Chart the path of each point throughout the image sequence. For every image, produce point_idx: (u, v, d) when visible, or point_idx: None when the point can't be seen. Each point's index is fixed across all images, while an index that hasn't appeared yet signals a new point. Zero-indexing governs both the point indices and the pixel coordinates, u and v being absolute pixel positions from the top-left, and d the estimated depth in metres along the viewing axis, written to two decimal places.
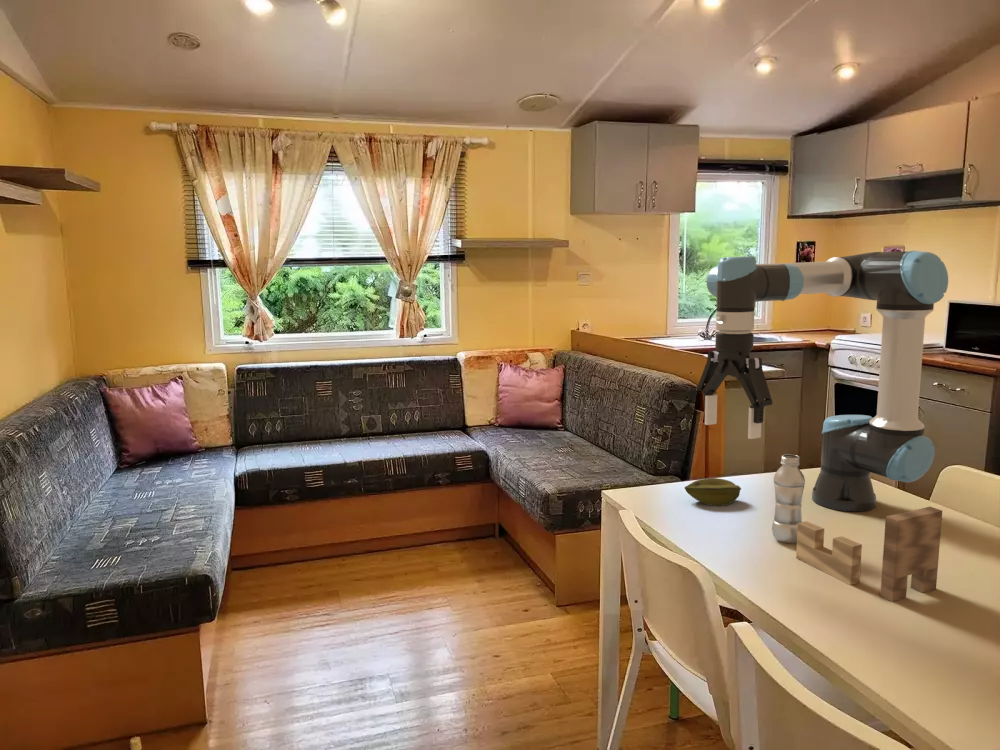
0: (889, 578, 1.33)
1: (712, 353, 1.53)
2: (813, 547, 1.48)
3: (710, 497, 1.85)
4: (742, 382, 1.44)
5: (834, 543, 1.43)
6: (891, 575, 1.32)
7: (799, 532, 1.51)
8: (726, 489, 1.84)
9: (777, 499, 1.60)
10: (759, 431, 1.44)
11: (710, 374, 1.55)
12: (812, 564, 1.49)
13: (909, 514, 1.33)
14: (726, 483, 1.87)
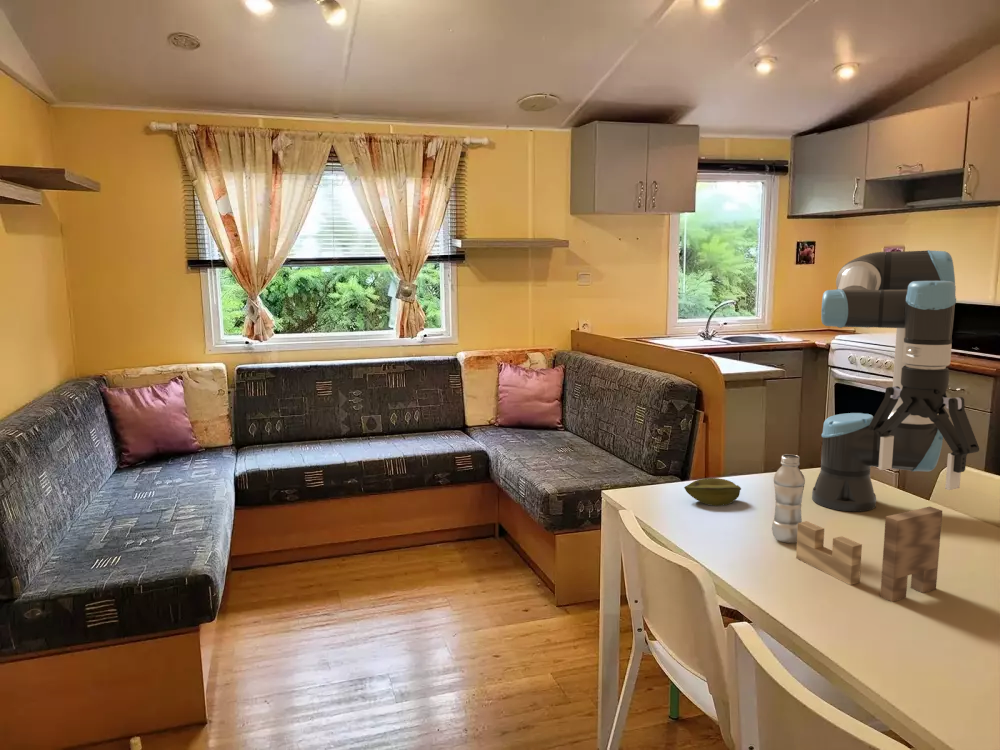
0: (889, 578, 1.33)
1: (892, 389, 1.35)
2: (813, 547, 1.48)
3: (710, 497, 1.85)
4: (938, 424, 1.26)
5: (834, 543, 1.43)
6: (891, 575, 1.32)
7: (799, 532, 1.51)
8: (726, 489, 1.84)
9: (777, 499, 1.60)
10: (958, 481, 1.26)
11: (886, 412, 1.37)
12: (812, 564, 1.49)
13: (909, 514, 1.33)
14: (726, 483, 1.87)
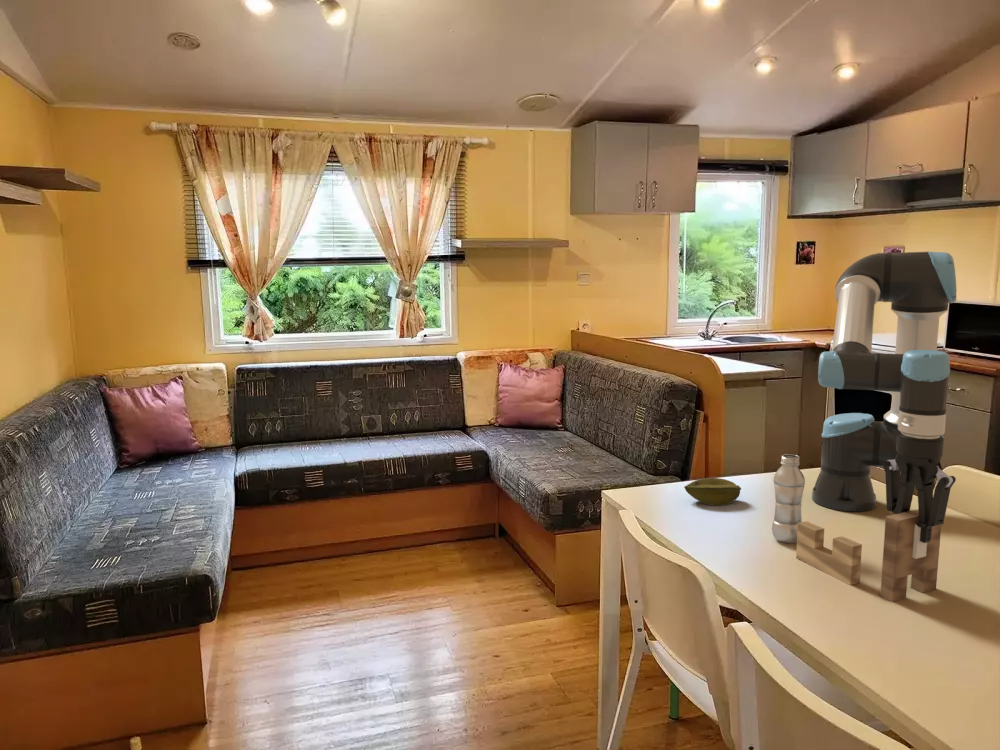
0: (889, 578, 1.33)
1: (887, 461, 1.37)
2: (813, 547, 1.48)
3: (710, 497, 1.85)
4: (920, 494, 1.31)
5: (834, 543, 1.43)
6: (891, 575, 1.32)
7: (799, 532, 1.51)
8: (726, 489, 1.84)
9: (777, 499, 1.60)
10: (924, 550, 1.33)
11: (895, 487, 1.37)
12: (812, 564, 1.49)
13: (909, 514, 1.33)
14: (726, 483, 1.87)
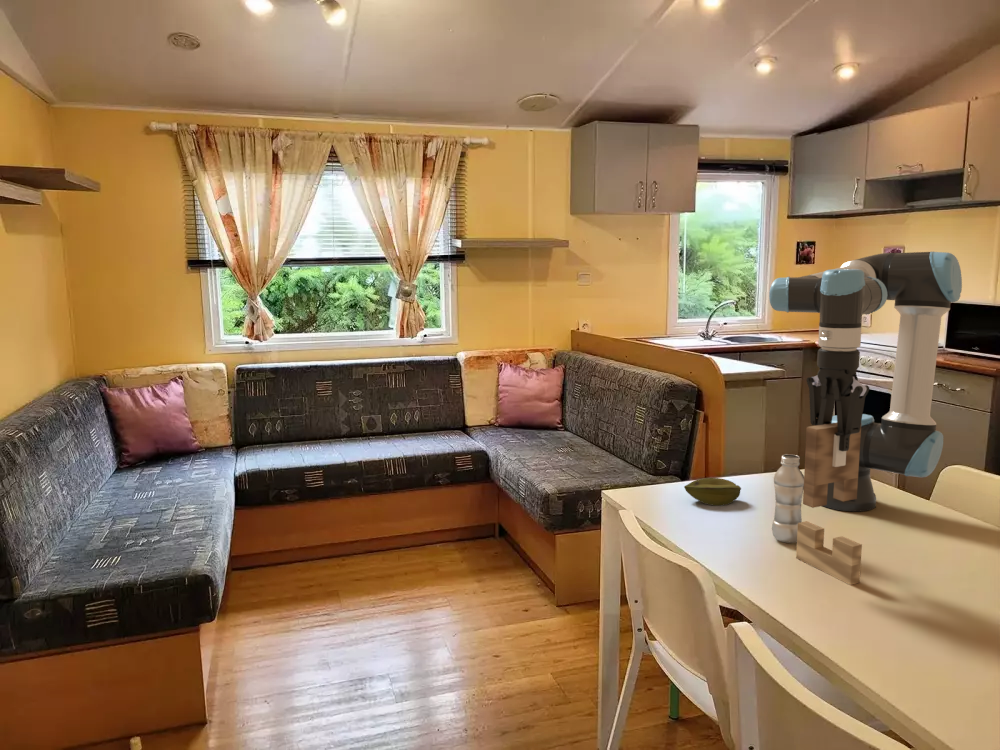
0: (810, 485, 1.41)
1: (811, 378, 1.45)
2: (813, 547, 1.48)
3: (710, 497, 1.86)
4: (838, 405, 1.39)
5: (834, 543, 1.43)
6: (812, 482, 1.40)
7: (799, 532, 1.51)
8: (725, 489, 1.84)
9: (777, 499, 1.60)
10: (844, 459, 1.41)
11: (818, 402, 1.45)
12: (812, 564, 1.49)
13: (829, 425, 1.41)
14: (726, 483, 1.87)
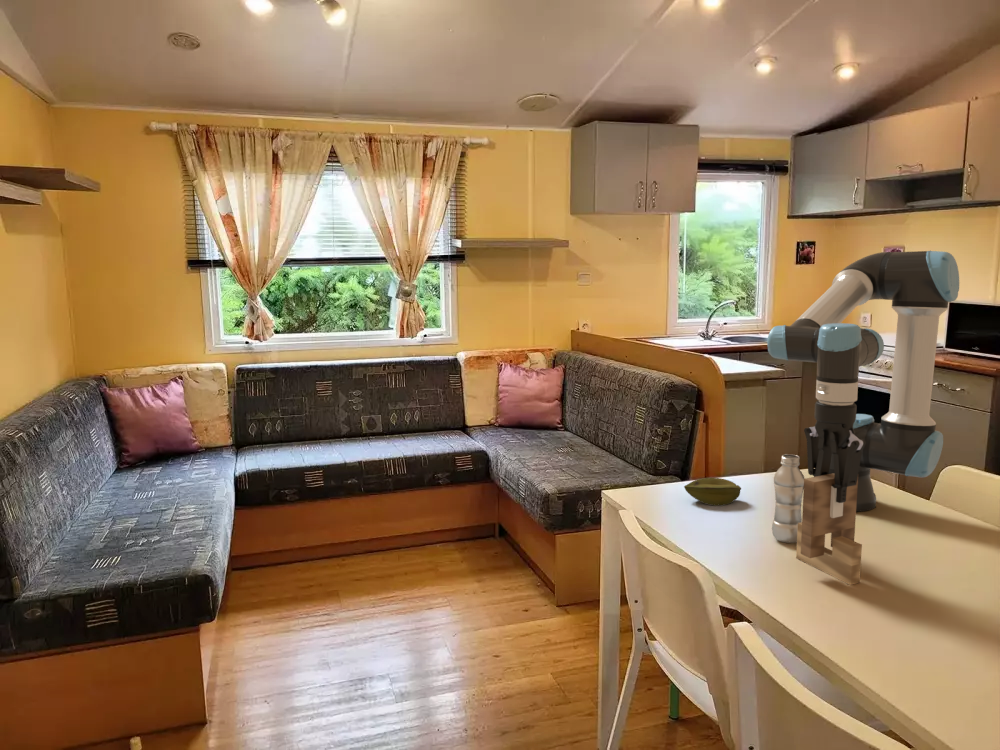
0: (807, 536, 1.43)
1: (808, 428, 1.47)
2: None
3: (710, 497, 1.86)
4: (835, 457, 1.41)
5: (834, 543, 1.43)
6: (809, 533, 1.42)
7: (799, 532, 1.51)
8: (725, 489, 1.84)
9: (777, 499, 1.60)
10: (841, 510, 1.43)
11: (816, 452, 1.47)
12: (812, 564, 1.49)
13: (827, 476, 1.43)
14: (726, 483, 1.87)
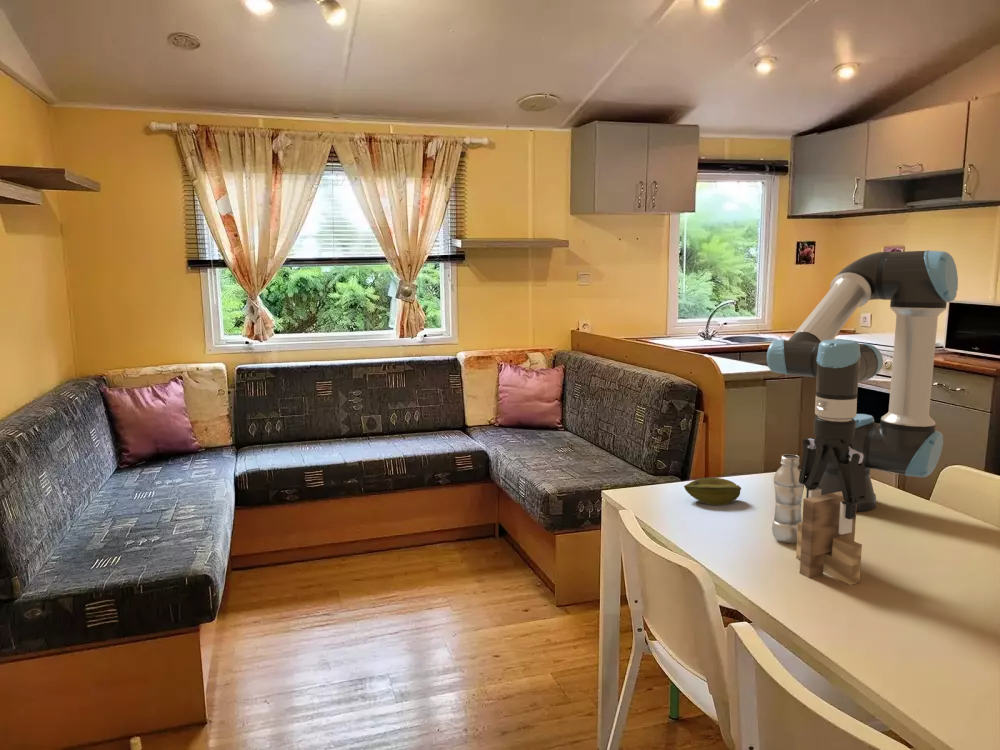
0: (806, 556, 1.43)
1: (807, 440, 1.47)
2: None
3: (709, 497, 1.86)
4: (839, 473, 1.40)
5: (834, 543, 1.43)
6: (808, 553, 1.43)
7: (799, 532, 1.51)
8: (725, 489, 1.84)
9: (777, 499, 1.60)
10: (850, 526, 1.41)
11: (810, 464, 1.48)
12: None
13: (826, 496, 1.44)
14: (726, 483, 1.87)
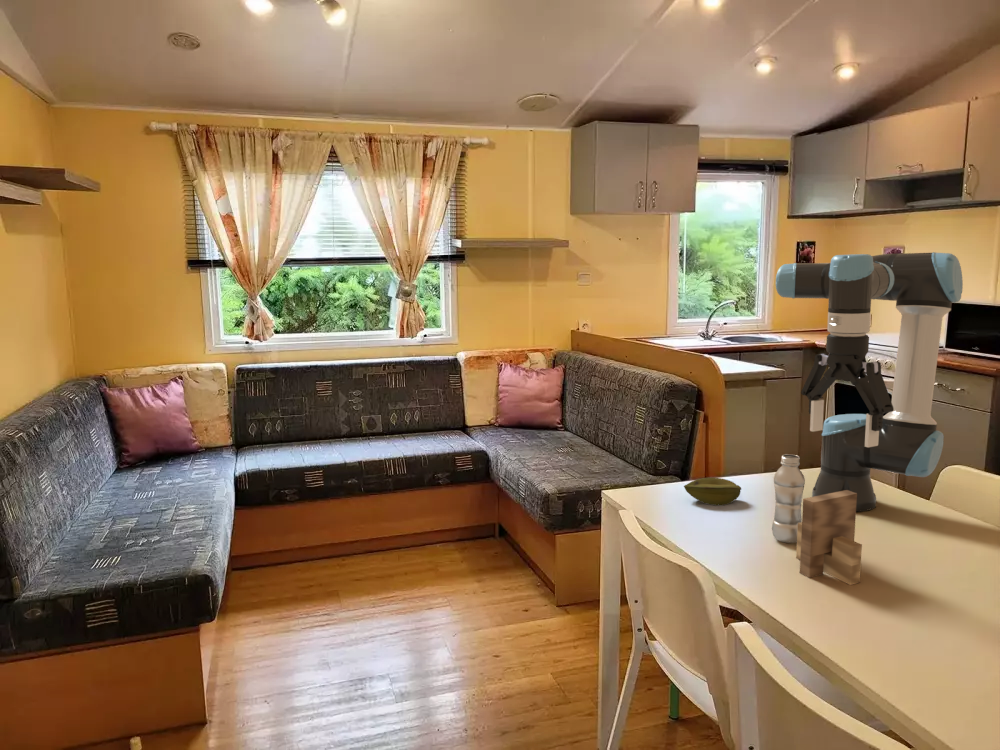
0: (806, 556, 1.43)
1: (820, 356, 1.45)
2: None
3: (709, 497, 1.86)
4: (858, 387, 1.37)
5: (834, 543, 1.43)
6: (808, 553, 1.43)
7: (799, 532, 1.51)
8: (725, 489, 1.84)
9: (777, 499, 1.60)
10: (876, 439, 1.36)
11: (816, 378, 1.47)
12: None
13: (825, 496, 1.44)
14: (726, 483, 1.87)
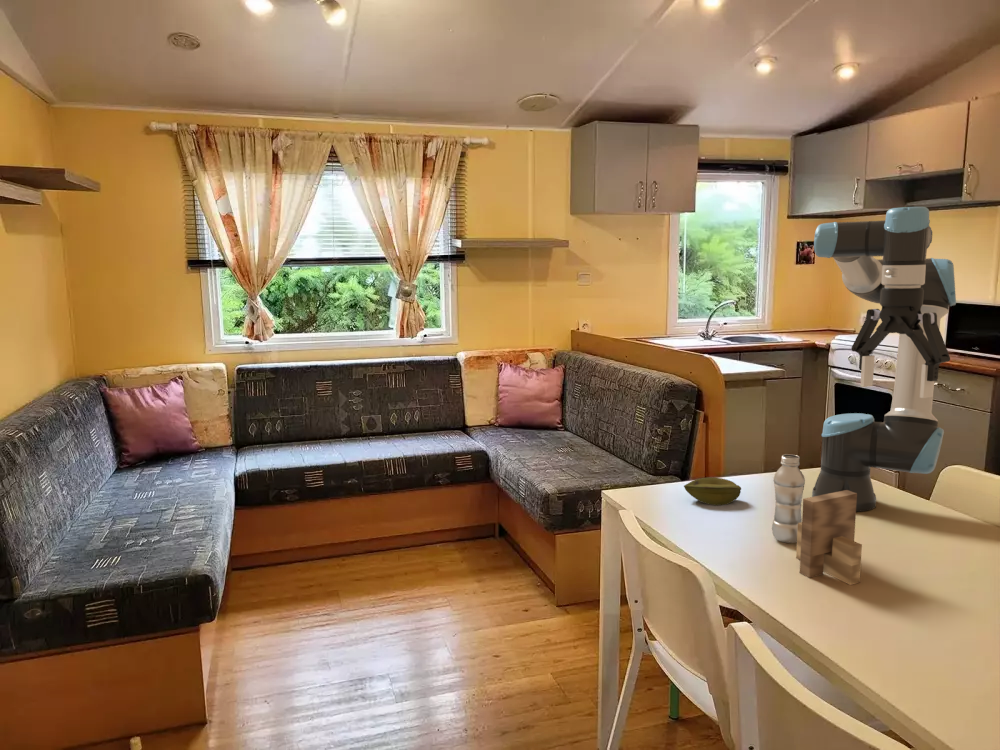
0: (806, 556, 1.43)
1: (872, 311, 1.46)
2: None
3: (709, 496, 1.86)
4: (913, 339, 1.38)
5: (834, 543, 1.43)
6: (808, 553, 1.43)
7: (799, 532, 1.51)
8: (725, 489, 1.84)
9: (777, 499, 1.60)
10: (931, 390, 1.38)
11: (867, 333, 1.49)
12: None
13: (825, 496, 1.44)
14: (726, 483, 1.87)
